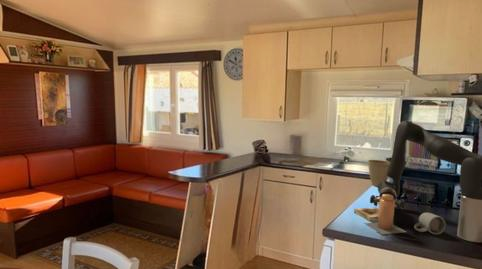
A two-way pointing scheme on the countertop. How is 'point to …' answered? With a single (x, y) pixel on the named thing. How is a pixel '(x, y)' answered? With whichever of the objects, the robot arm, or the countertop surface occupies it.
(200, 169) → the countertop surface
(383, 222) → the peach capped cylinder
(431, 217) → the ceramic mug
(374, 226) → the mat
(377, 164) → the plant pot
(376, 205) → the robot arm
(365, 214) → the holder
